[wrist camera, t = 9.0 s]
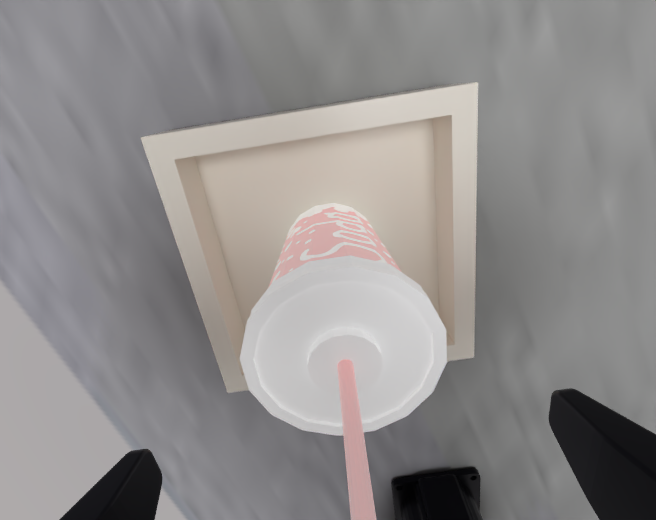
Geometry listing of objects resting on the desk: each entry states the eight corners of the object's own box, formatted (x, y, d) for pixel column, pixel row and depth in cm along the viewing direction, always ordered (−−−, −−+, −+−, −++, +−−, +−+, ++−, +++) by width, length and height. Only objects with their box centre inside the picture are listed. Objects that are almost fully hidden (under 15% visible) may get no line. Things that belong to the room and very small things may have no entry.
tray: (451, 320, 22) (474, 357, 19) (239, 351, 23) (227, 393, 20) (447, 84, 17) (478, 82, 14) (171, 129, 18) (140, 137, 14)
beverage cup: (412, 218, 19) (628, 488, 6) (356, 313, 21) (426, 662, 8) (300, 165, 17) (266, 364, 5) (253, 273, 20) (142, 610, 7)
